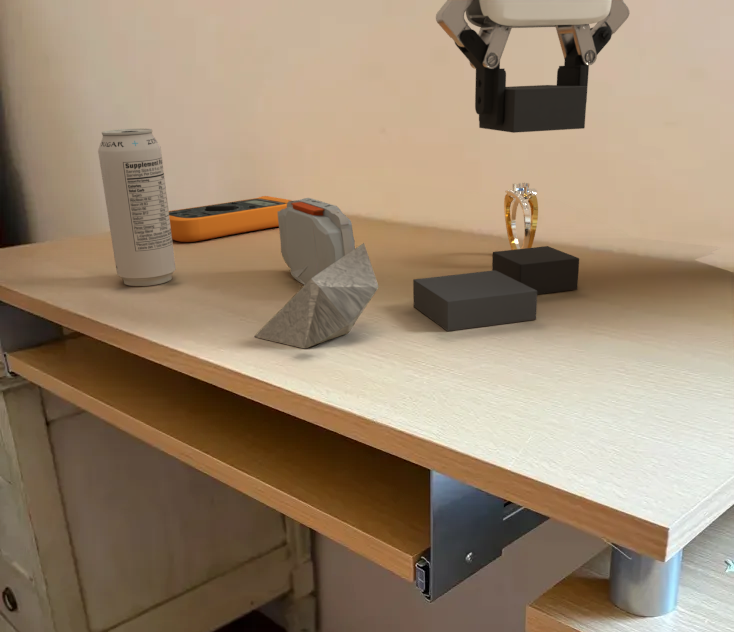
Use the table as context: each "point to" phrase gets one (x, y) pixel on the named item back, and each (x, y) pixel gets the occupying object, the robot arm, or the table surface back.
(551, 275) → the graphite pad
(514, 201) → the ring
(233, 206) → the multimeter
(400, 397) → the table surface
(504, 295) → the base pad
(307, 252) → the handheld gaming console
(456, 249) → the table surface
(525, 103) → the black square block
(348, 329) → the grey angular faceted piece
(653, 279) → the table surface
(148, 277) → the energy drink can
